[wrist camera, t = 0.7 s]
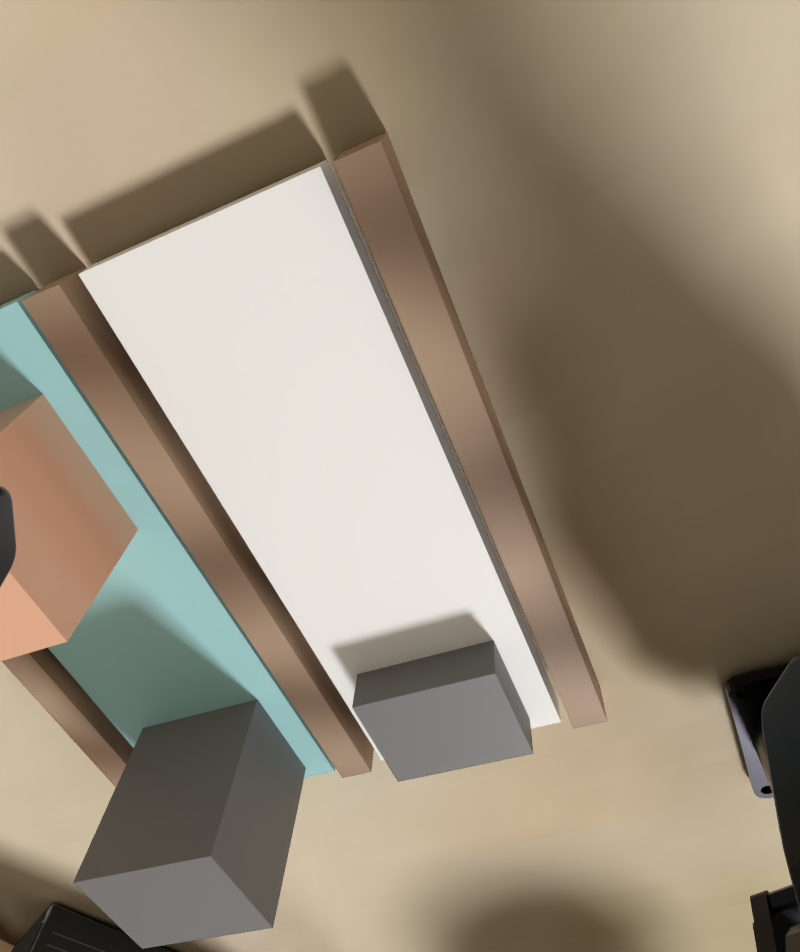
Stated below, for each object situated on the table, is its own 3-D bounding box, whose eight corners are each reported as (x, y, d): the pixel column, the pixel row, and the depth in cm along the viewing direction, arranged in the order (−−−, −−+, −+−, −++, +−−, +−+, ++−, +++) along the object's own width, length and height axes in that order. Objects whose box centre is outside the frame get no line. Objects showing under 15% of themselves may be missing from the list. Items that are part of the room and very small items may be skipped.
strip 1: (338, 749, 30) (307, 931, 24) (188, 783, 32) (125, 960, 26) (35, 290, 21) (-138, 397, 15) (-151, 373, 22) (-372, 499, 16)
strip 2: (557, 700, 28) (566, 757, 25) (383, 739, 29) (378, 795, 27) (326, 159, 18) (309, 177, 16) (94, 263, 20) (50, 291, 18)
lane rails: (599, 686, 27) (607, 721, 26) (158, 786, 32) (145, 819, 31) (386, 131, 18) (380, 140, 17) (-185, 387, 23) (-226, 410, 22)
